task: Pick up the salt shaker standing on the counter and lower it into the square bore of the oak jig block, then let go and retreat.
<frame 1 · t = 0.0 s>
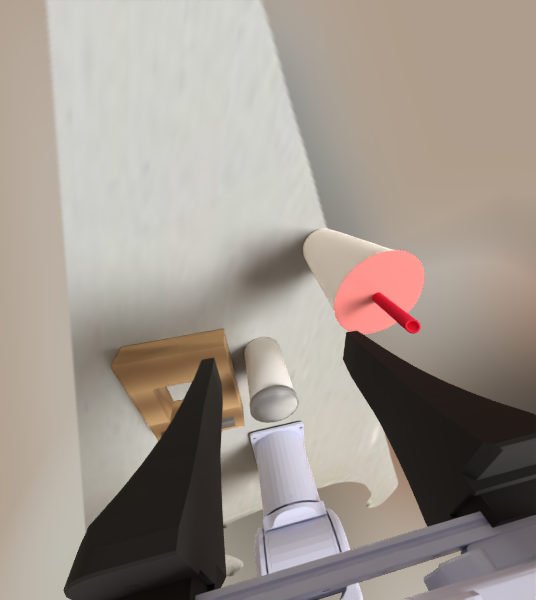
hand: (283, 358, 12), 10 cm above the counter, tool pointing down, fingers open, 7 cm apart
cup: (320, 246, 21), on the counter
jig: (191, 381, 26), on the counter
salt shaker: (262, 351, 26), on the counter
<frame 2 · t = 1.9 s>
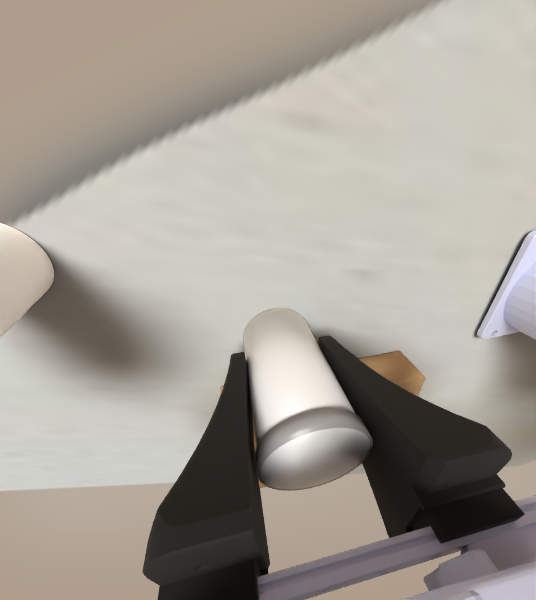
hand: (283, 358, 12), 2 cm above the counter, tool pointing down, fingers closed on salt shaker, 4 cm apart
cup: (8, 260, 10), on the counter
jig: (312, 410, 19), on the counter
salt shaker: (275, 335, 14), on the counter, touching gripper
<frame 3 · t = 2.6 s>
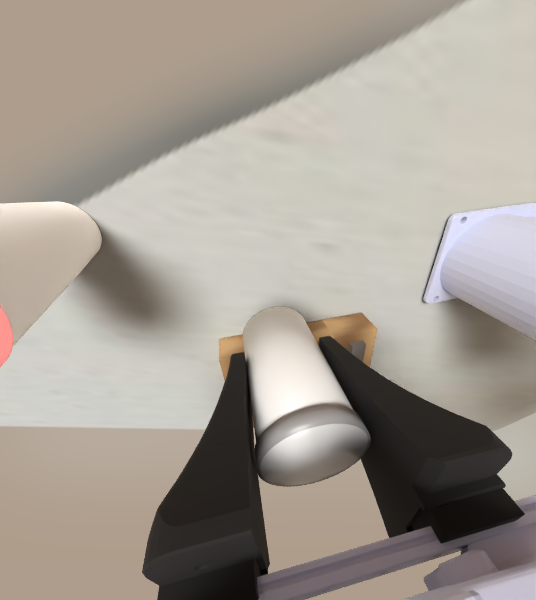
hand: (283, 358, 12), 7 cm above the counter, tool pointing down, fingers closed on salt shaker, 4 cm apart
cup: (70, 231, 14), on the counter
jig: (294, 364, 23), on the counter
salt shaker: (275, 334, 14), point 5 cm above the counter, touching gripper
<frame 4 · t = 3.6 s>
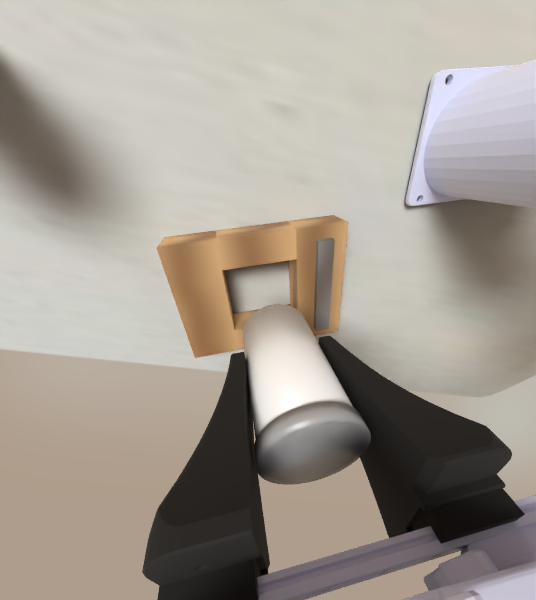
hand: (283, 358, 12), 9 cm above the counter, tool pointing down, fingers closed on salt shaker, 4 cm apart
jig: (259, 283, 20), on the counter
salt shaker: (275, 332, 14), point 7 cm above the counter, touching gripper
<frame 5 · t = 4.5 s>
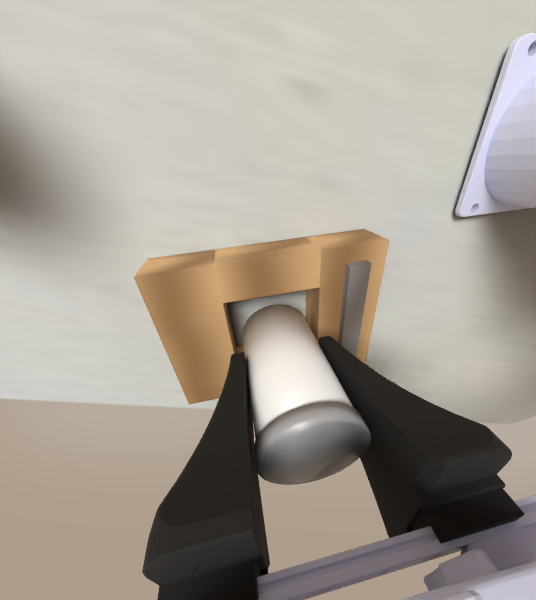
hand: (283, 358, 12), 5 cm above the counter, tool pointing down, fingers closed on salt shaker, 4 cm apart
jig: (268, 311, 16), on the counter
salt shaker: (275, 332, 14), point 3 cm above the counter, touching gripper
when the fingers open (3 cm above the counter, at t = 5.3 s): salt shaker drops 1 cm, resting in jig.
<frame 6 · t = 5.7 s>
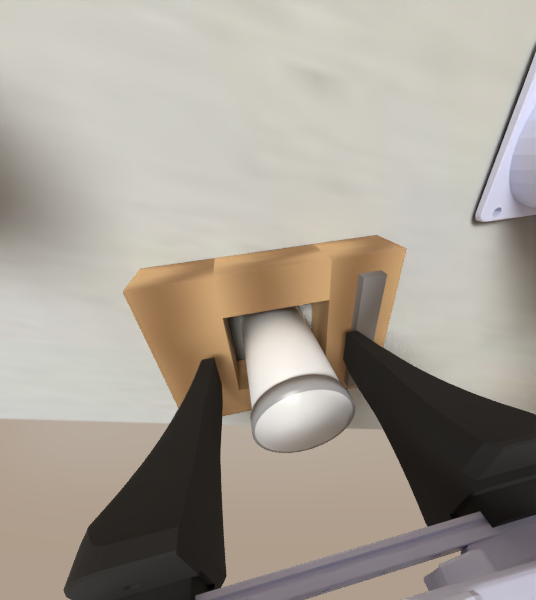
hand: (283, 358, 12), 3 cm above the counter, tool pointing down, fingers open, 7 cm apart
jig: (271, 323, 15), on the counter
salt shaker: (271, 321, 15), resting in jig
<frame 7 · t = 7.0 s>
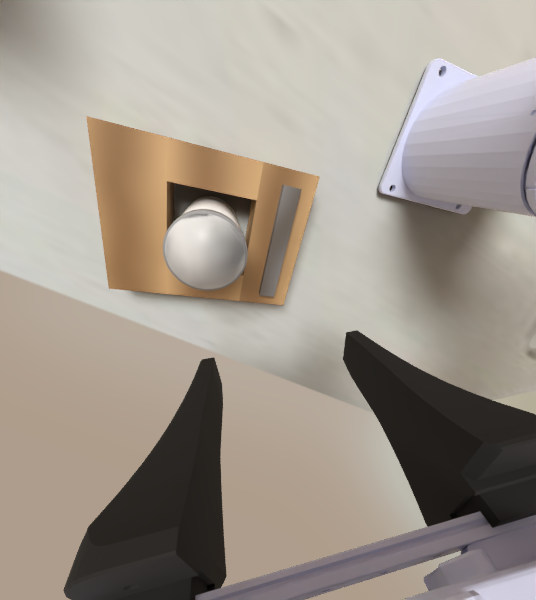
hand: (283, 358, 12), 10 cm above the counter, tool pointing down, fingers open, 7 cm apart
jig: (211, 226, 18), on the counter
salt shaker: (211, 224, 18), resting in jig
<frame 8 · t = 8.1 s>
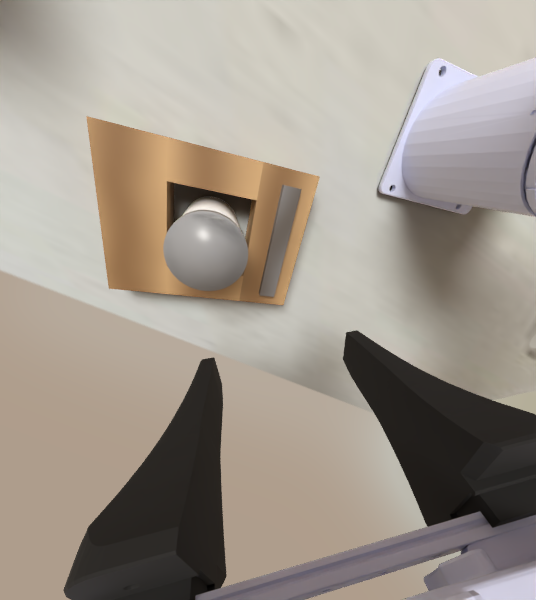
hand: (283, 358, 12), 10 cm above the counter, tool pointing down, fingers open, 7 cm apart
jig: (211, 226, 18), on the counter
salt shaker: (211, 224, 18), resting in jig
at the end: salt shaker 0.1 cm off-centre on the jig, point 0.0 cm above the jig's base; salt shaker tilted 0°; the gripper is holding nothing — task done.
